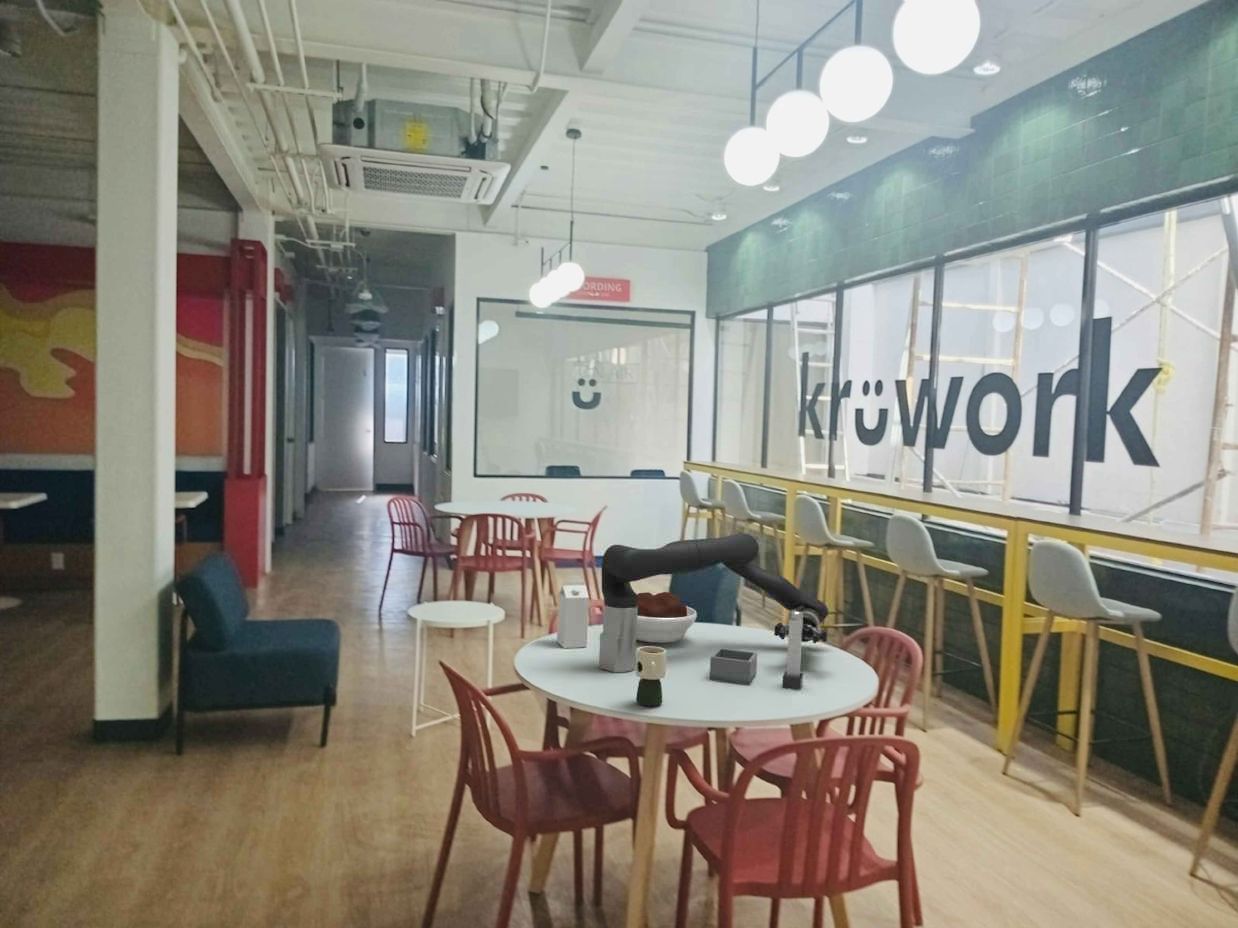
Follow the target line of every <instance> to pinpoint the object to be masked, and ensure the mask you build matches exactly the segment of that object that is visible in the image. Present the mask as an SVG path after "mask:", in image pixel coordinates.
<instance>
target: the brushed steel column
mask: <svg viewBox="0 0 1238 928" xmlns="http://www.w3.org/2000/svg"><path fill="white" fill-rule="evenodd" d="M788 625H789V636H788V637H787V638H788V639H787V641H788V642H787V656H786V657H787V658H786V670H785V671H784V674H783V675H782V682H781V683H782V684H781V685H782V686H781V687H782V688H783V689H789V688H791V689H790V690H796V689H802V687H803V684H804V673H803V672H801V661H802V660H801V659H802V643H803V642H802V625H803V612H798V611H795V610H789V620H788Z"/></svg>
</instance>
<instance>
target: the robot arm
mask: <svg viewBox="0 0 1238 928" xmlns="http://www.w3.org/2000/svg"><path fill="white" fill-rule="evenodd" d="M759 551H760V547H759V542H758V541H757V539H756V538H755V537H754V536H752V535H750V534H749V533H745V532H738V533H734V534H731V535H727V536H722V537H714V538H713V537H712V538H710V537H709V538H696V539H684V540H676V541H672V542H669V543H666V544H665V545H664V546H661V547H660V548H659V547H658V548H648V549H647V548H635V547H632V546H627V545H623V544H613V545H611V546H609V547H608V548H607V549H606V550H605V552H604V554H603V556H602V559H601V594H602V596H603V603H604V604H603V618H602V619H603V621H602V632H601V633H600V635H599V637H600V638H599V653H598V654H599V657H598V669H602V670H605V671H609V672H612V673H614V674H615V673H622V672H623V673H626V672H631V671H634V670H636V653H637V639H636V636H637V615H638V596H637V594H638V593H636V592H635V591H634V589H633V588H632V585H631V582H637V581H640V580H641V581H642V580H644V579H647V578H651V577H655V576H660V575H663V576H665V575H679V574H680V575H681V574H688V573H695V572H699V571H703V570H705V569H708V568H711V567H714V566H717V565H720V564H722V565H724V566H725V567H726V568H727V569H728V570H730V571H732V572H733V573H735V574H737V575H738V576H739V577H742V578H743V579H745V580H747V581H748V582H749V583H751V584H753V585H755V586H756V587H758V588H759V589H761V590H763V591H764V592H765V593H767V595H769V596H770V597H772V598H773V599H774V601H776V602H777V603H779V605H781V606H782V607H783V608H784V609H786V611H795V610H796V609H798V608H800V607H801V608H800V609H799V610H798V611H797V612H803V625H802V643H808V642H810V641H811V642H812V643H813V644H816V643H819V642H820V641H822V642H825V643H827V641H828V632H829V631H828V630H829V628H826V627H824V628H821V630H819V629H820V624H821V623H822V622H823V621H824V620H825V619H827V618H828V616H829V608H828V607H827V605H826V604H825V603H824V602H823V601H822V600H820V599H817V598H816V597H813V596H811V595H809V594H807V593H805V592H803V591H802V590H800V589H799V588H797V587H796V586H795V585H794V584H793V583H792V582H791V581H789V580H788V579H787V578H785V577H784V576H782V575H780V574H778V573H775V572H773V571H769V570H767V569H764V568H763V567H760V566H758V565H756V564H755V563H753V561H754V560H755V559H756V558H757V556H758V554H759ZM774 636H776V637H779V638H780V639H781V640H785V638H788V636H789V624H787V625H786V626H784V624H783V622H778V623H776V625H775V626H774Z"/></svg>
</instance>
